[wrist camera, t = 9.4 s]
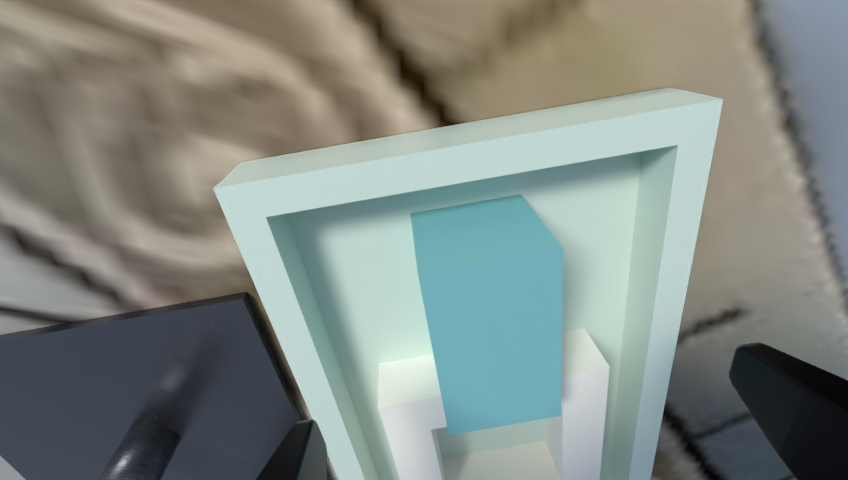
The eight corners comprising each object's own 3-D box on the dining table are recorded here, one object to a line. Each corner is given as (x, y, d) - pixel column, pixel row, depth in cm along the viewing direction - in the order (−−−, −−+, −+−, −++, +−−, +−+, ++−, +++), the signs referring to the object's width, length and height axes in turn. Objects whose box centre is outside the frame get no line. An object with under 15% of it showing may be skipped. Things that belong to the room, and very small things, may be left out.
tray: (620, 468, 21) (644, 513, 19) (374, 511, 21) (373, 560, 19) (669, 87, 12) (723, 99, 10) (241, 162, 12) (213, 188, 10)
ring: (578, 456, 19) (614, 538, 16) (413, 485, 19) (418, 572, 16) (591, 181, 13) (656, 231, 10) (339, 225, 13) (324, 289, 10)
